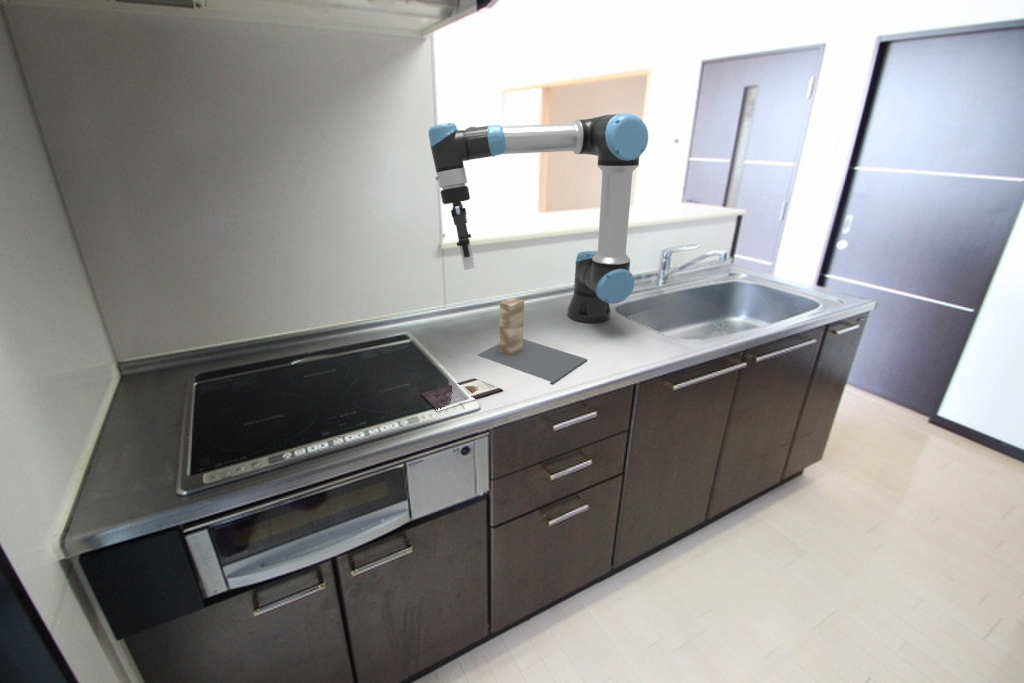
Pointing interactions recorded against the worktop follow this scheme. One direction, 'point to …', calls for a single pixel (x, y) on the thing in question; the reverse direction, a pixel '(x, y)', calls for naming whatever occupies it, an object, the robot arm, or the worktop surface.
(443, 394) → the chocolate bar
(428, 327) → the worktop surface
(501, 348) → the wooden block
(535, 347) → the rubber mat
